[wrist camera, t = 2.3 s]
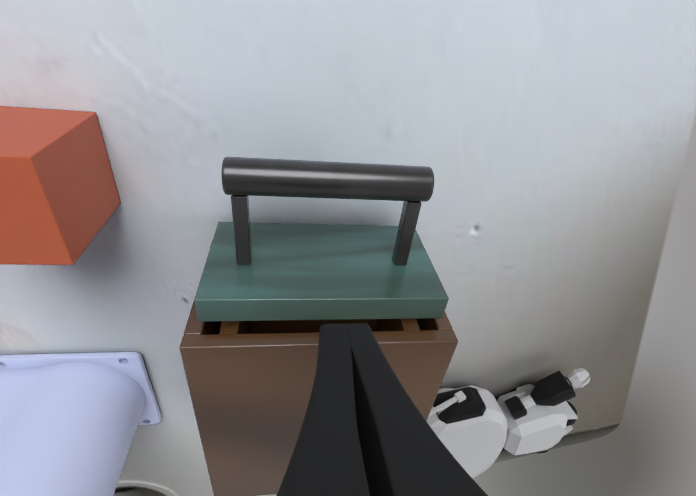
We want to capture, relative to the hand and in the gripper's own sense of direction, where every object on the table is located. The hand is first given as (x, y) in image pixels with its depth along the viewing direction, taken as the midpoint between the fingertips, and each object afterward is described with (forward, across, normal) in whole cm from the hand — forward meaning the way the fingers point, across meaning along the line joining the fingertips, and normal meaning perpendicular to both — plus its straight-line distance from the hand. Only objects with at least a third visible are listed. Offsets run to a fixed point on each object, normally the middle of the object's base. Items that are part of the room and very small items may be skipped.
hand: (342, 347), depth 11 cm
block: (+10, +12, -1) cm, 16 cm away
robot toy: (+11, -15, +20) cm, 27 cm away
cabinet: (+10, 0, +10) cm, 14 cm away
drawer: (+10, 0, +6) cm, 11 cm away
